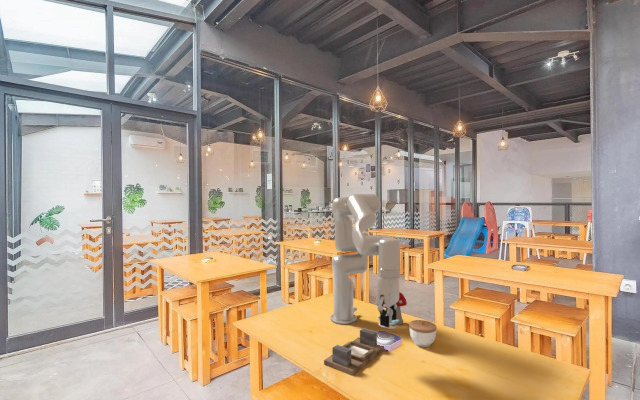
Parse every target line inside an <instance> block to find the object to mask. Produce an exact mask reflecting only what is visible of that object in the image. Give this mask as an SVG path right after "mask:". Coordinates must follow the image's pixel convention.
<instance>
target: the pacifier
mask: <svg viewBox="0 0 640 400" xmlns="http://www.w3.org/2000/svg"><path fill="white" fill-rule="evenodd" d="M384 310H385V311H386V308H384ZM392 315H393V310H392V309H391V308H389V313H388V316H389V327H386V326H382V325H380V316H378V321H379V323H378V326H379V327H381V328H384V329H391V330H392V329H396V328H397V325H395V324H396V323H397V322H399V320H392Z"/></svg>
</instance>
